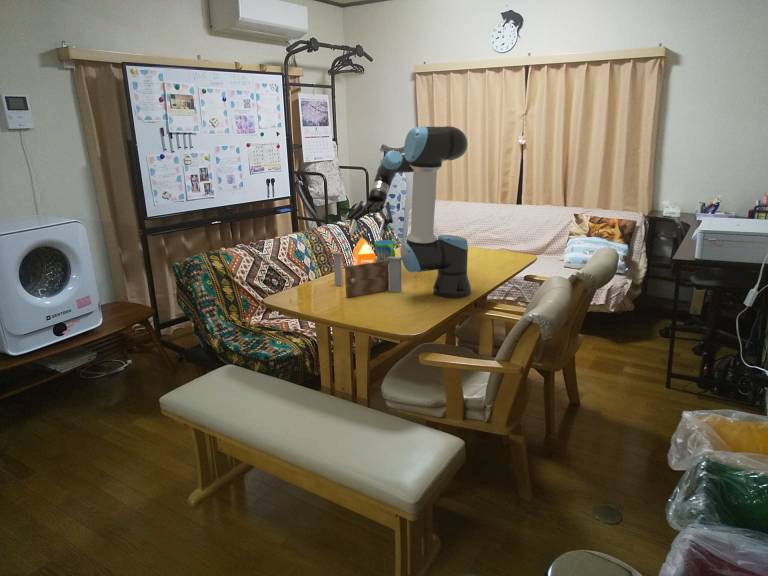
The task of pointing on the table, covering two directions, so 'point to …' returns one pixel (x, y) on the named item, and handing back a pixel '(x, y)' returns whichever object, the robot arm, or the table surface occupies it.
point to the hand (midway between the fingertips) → (365, 234)
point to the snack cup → (384, 249)
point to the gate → (366, 278)
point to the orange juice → (363, 253)
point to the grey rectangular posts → (393, 272)
